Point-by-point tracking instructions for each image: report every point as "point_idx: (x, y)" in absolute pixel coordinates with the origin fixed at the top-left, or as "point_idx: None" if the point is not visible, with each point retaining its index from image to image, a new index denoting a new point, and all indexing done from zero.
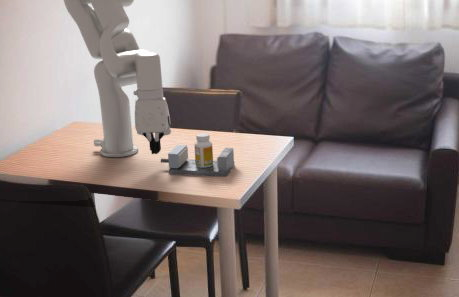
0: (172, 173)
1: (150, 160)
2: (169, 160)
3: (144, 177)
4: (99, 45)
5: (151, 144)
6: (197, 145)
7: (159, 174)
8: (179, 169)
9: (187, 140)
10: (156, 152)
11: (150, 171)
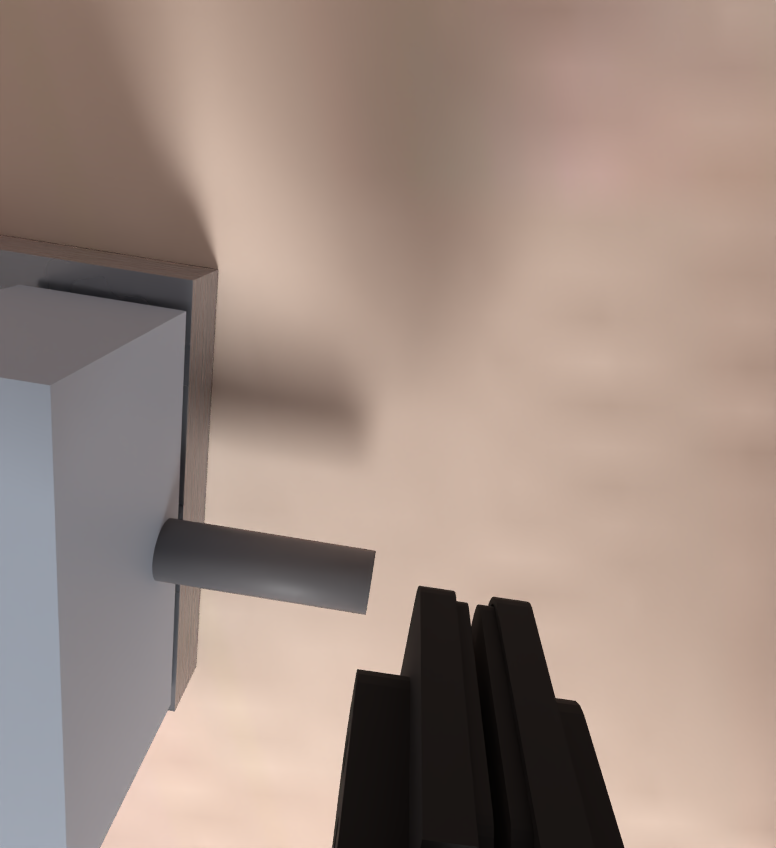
0: (155, 263)
1: None
2: (107, 341)
3: (580, 116)
4: None
5: (551, 774)
6: None
7: (359, 262)
8: (8, 271)
9: None
10: (417, 610)
11: (521, 399)
